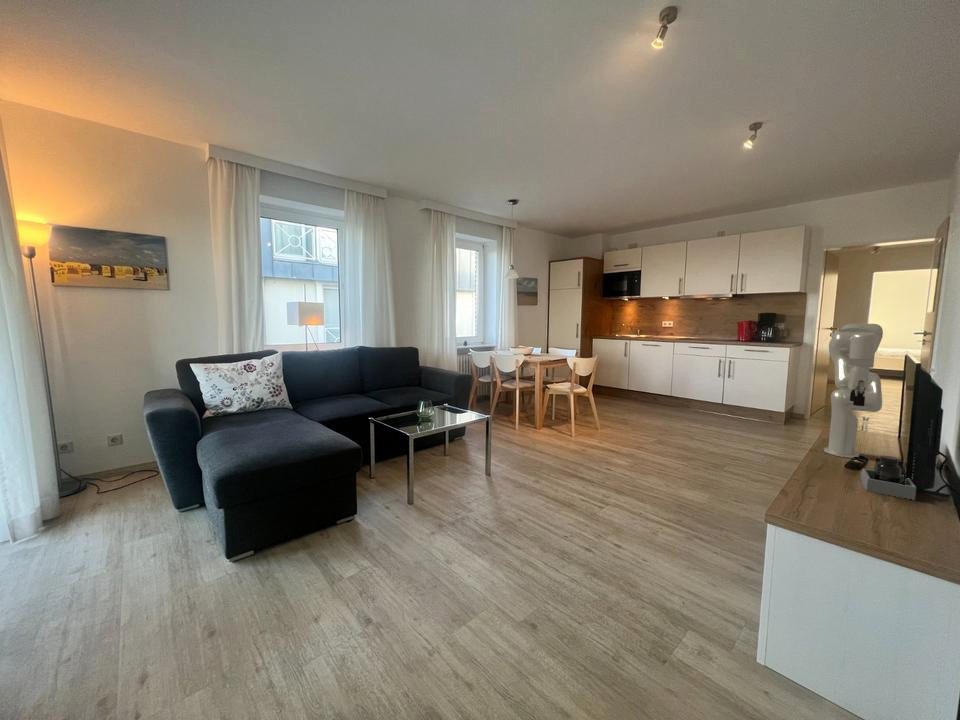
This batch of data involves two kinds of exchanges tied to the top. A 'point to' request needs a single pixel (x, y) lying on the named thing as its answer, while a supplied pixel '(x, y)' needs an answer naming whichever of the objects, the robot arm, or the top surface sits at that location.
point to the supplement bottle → (888, 470)
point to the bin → (888, 486)
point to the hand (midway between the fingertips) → (856, 403)
